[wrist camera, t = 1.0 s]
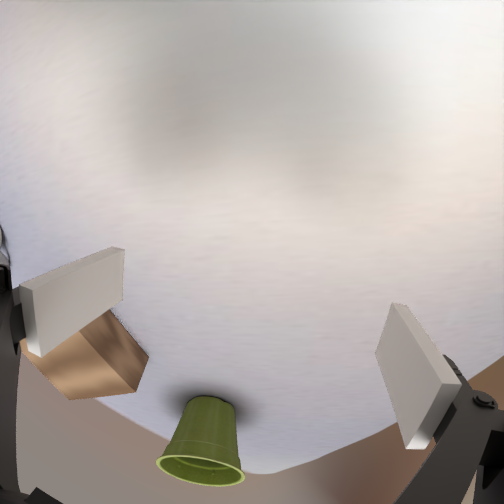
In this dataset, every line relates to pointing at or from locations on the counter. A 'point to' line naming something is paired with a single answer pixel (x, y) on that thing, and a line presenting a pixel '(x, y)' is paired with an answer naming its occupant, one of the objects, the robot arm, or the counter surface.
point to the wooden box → (93, 361)
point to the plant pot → (204, 445)
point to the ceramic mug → (0, 256)
